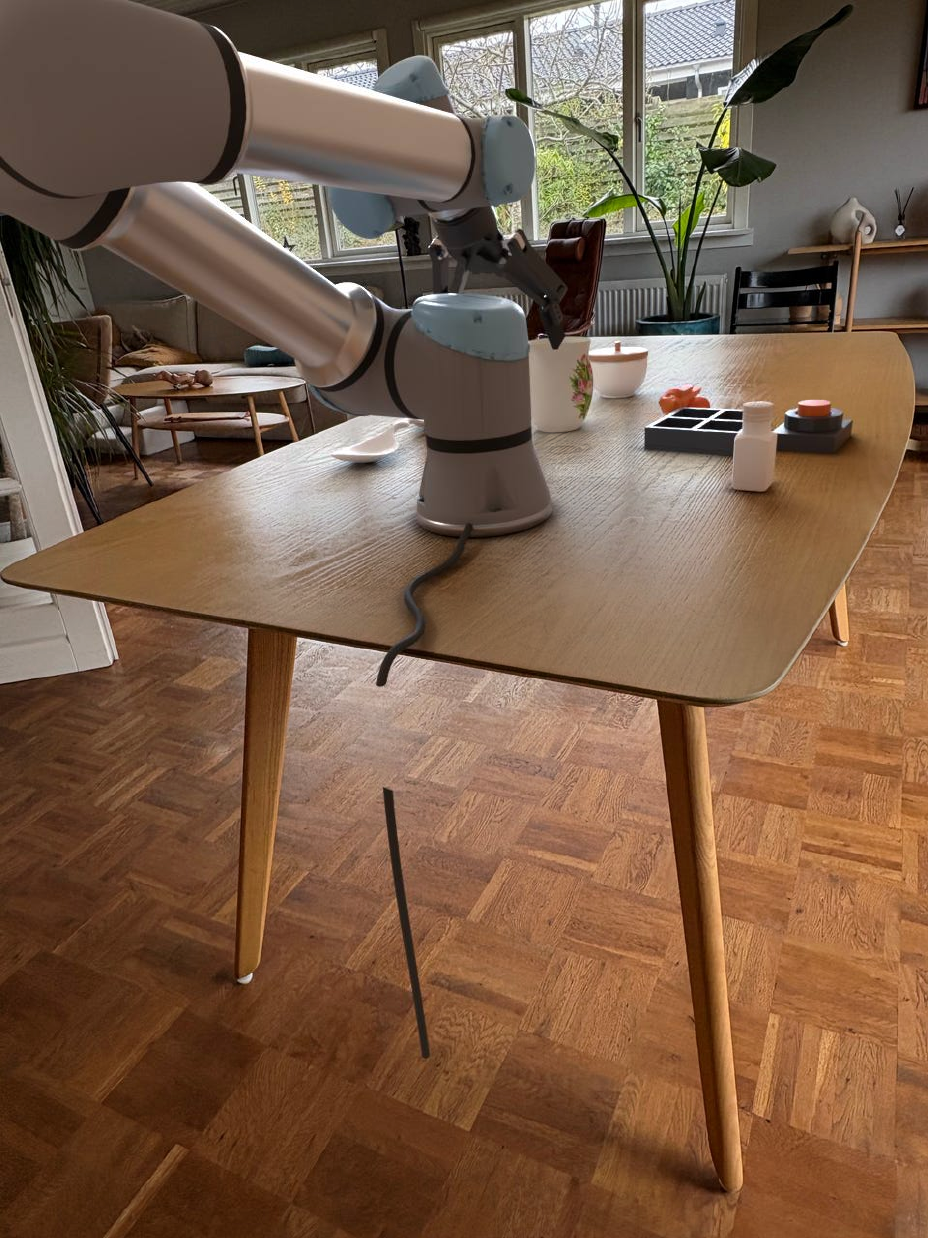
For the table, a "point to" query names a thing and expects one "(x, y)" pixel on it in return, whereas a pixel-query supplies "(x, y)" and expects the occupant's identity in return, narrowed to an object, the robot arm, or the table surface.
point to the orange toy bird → (682, 399)
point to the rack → (695, 431)
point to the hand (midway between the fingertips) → (517, 342)
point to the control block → (813, 432)
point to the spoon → (376, 444)
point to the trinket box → (618, 370)
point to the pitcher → (560, 383)
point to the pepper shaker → (755, 449)
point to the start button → (814, 408)
